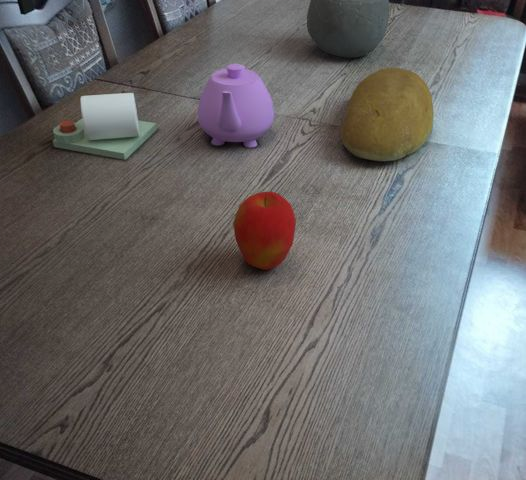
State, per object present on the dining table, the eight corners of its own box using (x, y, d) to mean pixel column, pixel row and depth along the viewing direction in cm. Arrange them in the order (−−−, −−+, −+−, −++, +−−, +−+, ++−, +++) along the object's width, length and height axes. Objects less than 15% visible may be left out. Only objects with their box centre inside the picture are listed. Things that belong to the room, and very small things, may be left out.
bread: (332, 164, 106) (337, 112, 99) (353, 93, 130) (359, 47, 123) (428, 176, 104) (441, 124, 96) (432, 101, 127) (443, 55, 120)
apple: (254, 239, 89) (254, 170, 80) (304, 256, 86) (309, 187, 77) (223, 269, 84) (219, 199, 75) (275, 289, 80) (277, 219, 72)
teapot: (267, 166, 106) (268, 92, 96) (187, 161, 107) (180, 88, 97) (278, 117, 121) (280, 49, 111) (208, 113, 122) (204, 45, 112)
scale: (51, 147, 110) (47, 133, 108) (89, 118, 120) (86, 104, 117) (124, 160, 107) (121, 146, 105) (157, 129, 116) (155, 115, 114)
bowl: (291, 56, 147) (294, -9, 136) (327, 35, 159) (332, -26, 148) (363, 73, 139) (372, 5, 128) (395, 49, 151) (406, -15, 140)
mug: (140, 143, 109) (133, 102, 103) (88, 147, 107) (79, 106, 102) (138, 117, 117) (132, 78, 111) (90, 120, 116) (81, 81, 110)
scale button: (58, 132, 109) (56, 125, 108) (66, 126, 111) (64, 119, 110) (70, 134, 108) (68, 127, 107) (78, 128, 110) (76, 121, 109)
